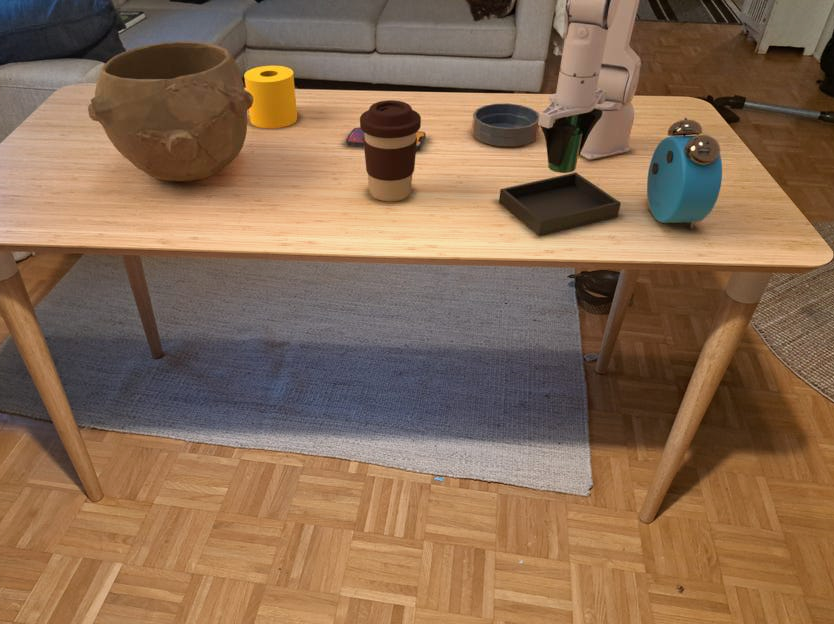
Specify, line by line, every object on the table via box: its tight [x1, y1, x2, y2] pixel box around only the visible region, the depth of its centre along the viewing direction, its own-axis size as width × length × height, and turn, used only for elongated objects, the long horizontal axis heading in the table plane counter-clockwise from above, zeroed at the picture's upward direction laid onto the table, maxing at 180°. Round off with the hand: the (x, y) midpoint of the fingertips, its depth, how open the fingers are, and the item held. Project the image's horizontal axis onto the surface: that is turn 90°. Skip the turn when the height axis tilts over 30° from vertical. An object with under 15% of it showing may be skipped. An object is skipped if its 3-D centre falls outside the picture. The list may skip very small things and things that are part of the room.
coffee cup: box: [359, 99, 422, 202], centre depth 114 cm, size 10×10×15 cm
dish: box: [471, 102, 541, 148], centre depth 136 cm, size 13×13×4 cm
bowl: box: [87, 40, 253, 182], centre depth 121 cm, size 27×29×20 cm
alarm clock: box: [646, 117, 723, 229], centre depth 106 cm, size 13×6×15 cm, turn 2°
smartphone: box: [345, 127, 427, 151], centre depth 135 cm, size 7×15×1 cm, turn 75°
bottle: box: [547, 114, 583, 174], centre depth 107 cm, size 4×4×9 cm
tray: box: [498, 171, 622, 237], centre depth 113 cm, size 15×12×2 cm
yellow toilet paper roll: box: [243, 65, 298, 129], centre depth 142 cm, size 10×10×9 cm
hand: (563, 158), depth 109 cm, fingers closed on bottle, 4 cm apart
